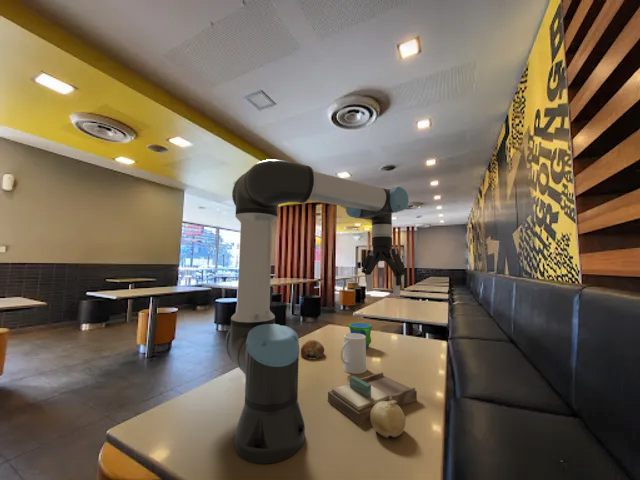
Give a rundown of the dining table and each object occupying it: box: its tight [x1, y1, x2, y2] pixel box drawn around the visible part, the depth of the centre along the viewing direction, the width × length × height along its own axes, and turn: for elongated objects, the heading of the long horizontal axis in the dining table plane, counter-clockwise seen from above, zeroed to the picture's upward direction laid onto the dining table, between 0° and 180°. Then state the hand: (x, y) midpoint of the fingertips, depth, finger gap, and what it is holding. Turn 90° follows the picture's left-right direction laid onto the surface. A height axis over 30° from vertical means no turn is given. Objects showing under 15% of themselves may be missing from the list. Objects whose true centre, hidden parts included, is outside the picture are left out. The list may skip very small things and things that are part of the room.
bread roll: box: [300, 339, 325, 359], centre depth 113 cm, size 10×10×8 cm
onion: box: [370, 396, 406, 439], centre depth 62 cm, size 8×8×7 cm
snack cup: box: [348, 322, 373, 349], centre depth 124 cm, size 16×10×10 cm
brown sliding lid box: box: [327, 372, 418, 426], centre depth 75 cm, size 22×13×4 cm, turn 123°
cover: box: [331, 375, 389, 410], centre depth 73 cm, size 11×11×4 cm
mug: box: [340, 332, 367, 375], centre depth 97 cm, size 12×8×12 cm
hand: (382, 293), depth 99 cm, fingers open, 13 cm apart
